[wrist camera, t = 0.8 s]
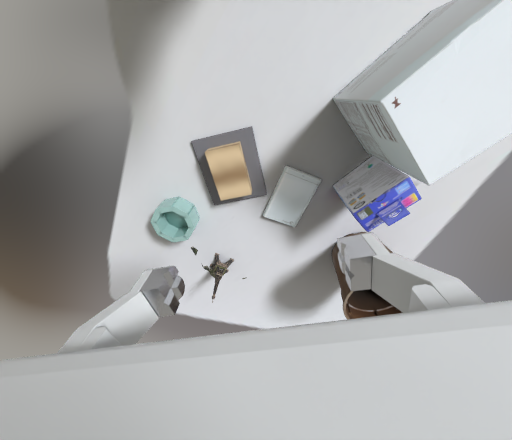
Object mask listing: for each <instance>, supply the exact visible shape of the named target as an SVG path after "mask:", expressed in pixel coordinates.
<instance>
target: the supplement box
mask: <svg viewBox="0 0 512 440" xmlns="http://www.w3.org/2000/svg"><path fill="white" fill-rule="evenodd" d="M333 100H334V102H335V103H336V105H337V107H338V108H339V110H340V112H341V113H342V115H343V116H344V118H345V120H346V121H347V123H348V124H349V126H350V127H351V129H352V131H353V132H354V134H355V135H356V137H357V138H358V140H359V142H360V143H361V145H362V146H363V148H364V149H365V151H366V152H367V153H369V154H371V155H373V156H375V157H377V158H379V159H380V160H382V161H384V162H386V163H388V164H390V165H391V166H393V167H395V168H397V169H399V170H401V171H402V172H404V173H406V174H408V175H410V176H412V177H414V178H416V179H417V180H419V181H421V182H423V183H425V184H427V185H431V184H433V183H435V182H436V181H438V180H439V179H441V178H442V177H444V176H446V175H447V174H449V173H450V172H452V171H454V170H455V169H457V168H458V167H460V166H462V165H463V164H465V163H466V162H468V161H469V160H471V159H473V158H474V157H476V156H477V155H479V154H480V153H482V152H484V151H485V150H487V149H488V148H490V147H491V146H493V145H495V144H496V143H498V142H499V141H501V140H502V139H504V138H506V137H507V136H509V135H510V134H512V0H452V1H450V2H448V3H446V4H444V5H442V6H440V7H438V8H436V9H434V10H432V11H430V13H429V14H428V15H427V16H426V17H425V18H424V19H423V20H422V21H420V22H419V23H418V24H417V25H416V26H415V27H414V28H412V29H411V30H410V31H409V32H408V33H407V34H405V35H404V36H403V37H402V38H401V39H400V40H399V41H397V42H396V43H395V44H394V45H393V46H392V47H391V48H389V49H388V50H387V51H386V52H385V53H384V54H383V55H382V56H380V57H379V58H378V59H377V60H376V61H375V62H374V63H372V64H371V65H370V66H369V67H368V68H367V69H366V70H364V71H363V72H362V73H361V74H360V75H359V76H358V77H356V78H355V79H354V80H353V81H352V82H351V83H350V84H348V85H347V86H346V87H345V88H344V89H343V90H342V91H341V92H339V93H338V94H337V95H336V96H335V97H334V98H333Z"/></svg>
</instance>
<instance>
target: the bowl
mask: <svg viewBox="0 0 512 440" xmlns="http://www.w3.org/2000/svg"><path fill="white" fill-rule="evenodd" d="M193 205H194V204H192V203H190V202H188V201H187V200H185V199H183V198H181V197H180V198H179V197H175V198H170V199H166V200H164V201H163V202H162V203H161V204H160V205H159V206H158V208H157V209H156V210H155V212H154V214H153V217H152V219H151V224H152V225H153V227H154V229H155V231H156V233H157V235H158V234H159V236H160V237H163V238H165V239H167V240H169V241H171V242H179V241H185V240H188V239H189V237H190V236H191V234H192V232H193V231H194V229H195V227H196V225H197V223H198V221H199V218H200V217H199V215H198V212H197V210H196V207H195V205H194V206H193Z"/></svg>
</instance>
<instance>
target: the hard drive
mask: <svg viewBox="0 0 512 440" xmlns="http://www.w3.org/2000/svg"><path fill="white" fill-rule="evenodd" d="M321 181H322V180H321V179H320V178H317V177H315V176H312V175H310V174H307V173H305V172H302V171H300V170H297V169H295V168H292V167H290V166H287V165H285V168H284V170H283V172H282V174H281V176H280V178H279V181H278V183H277V185H276V187H275V189H274V191H273V194H272V196H271V198H270V200H269V202H268V204H267V207H266V209H265V211H264V213H263V216H264V217H266V218H269V219H272V220H275V221H278V222H281V223H284V224H286V225H289V226H292V227H296V225H297V223H298V221H299V220H300V218H301V216H302V214H303V213H304V211H305V209H306V207H307V206H308V204H309V202H310V200H311V199H312V197H313V195H314V193H315V191H316V190H317V188H318V186H319V184H320V182H321Z"/></svg>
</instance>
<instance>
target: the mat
mask: <svg viewBox="0 0 512 440" xmlns="http://www.w3.org/2000/svg"><path fill="white" fill-rule="evenodd" d="M239 141H240V142H241V146H242V150H243V154H244V158H245V162H246V166H247V170H248V174H249V178H250V182H251V186H252V195H247V196H242V197H237V198H232V199H227V200H222V201H221V199H220V197H219V194H218V191H217V188H216V185H215V182H214V179H213V176H212V173H211V170H210V167H209V164H208V161H207V158H206V155H205V151H206V150H207V149H209V148H214V147H218V146H222V145H226V144H231V143H235V142H239ZM191 142H192V145H193V148H194V150H195V153H196V156H197V159H198V162H199V164H200V167H201V170H202V173H203V176H204V178H205V181H206V184H207V187H208V190H209V192H210V195H211V198H212V201H213V203H214V205H218V204H223V203H228V202H233V201H238V200H243V199H248V198H253V197H258V196H263V195H267V193H266V189H265V184H264V180H263V175H262V171H261V166H260V161H259V157H258V152H257V148H256V143H255V139H254V134H253V129H252V127H248V128H243V129H239V130H235V131H231V132H227V133H223V134H219V135H215V136H210V137H206V138H202V139H198V140H194V141H191Z"/></svg>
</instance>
